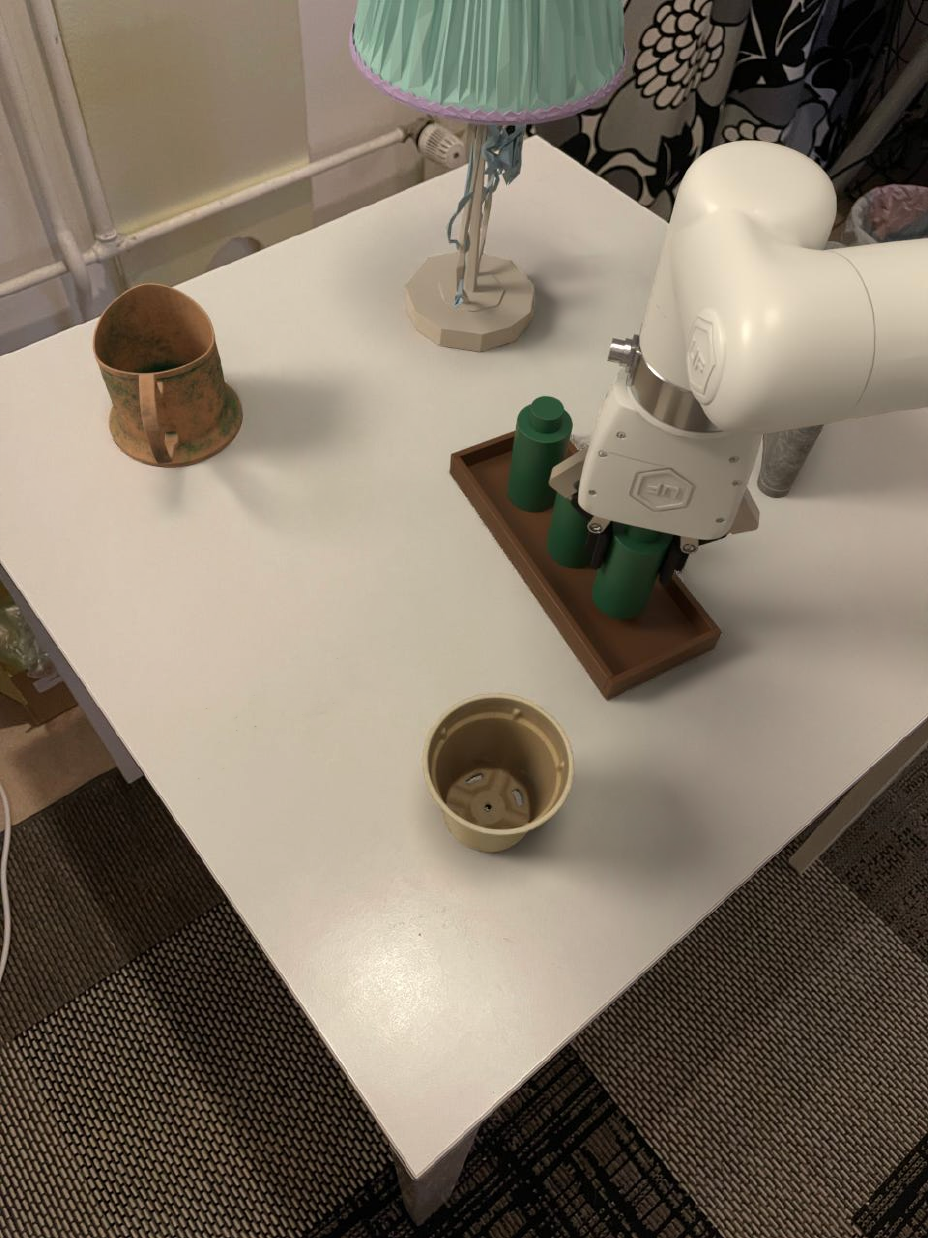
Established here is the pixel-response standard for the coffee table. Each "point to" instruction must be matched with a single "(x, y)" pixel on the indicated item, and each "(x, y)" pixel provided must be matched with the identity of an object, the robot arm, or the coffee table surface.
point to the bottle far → (538, 453)
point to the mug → (164, 378)
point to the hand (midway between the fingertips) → (631, 560)
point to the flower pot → (497, 769)
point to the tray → (582, 585)
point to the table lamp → (486, 125)
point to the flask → (787, 449)
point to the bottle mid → (568, 535)
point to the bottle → (629, 570)
